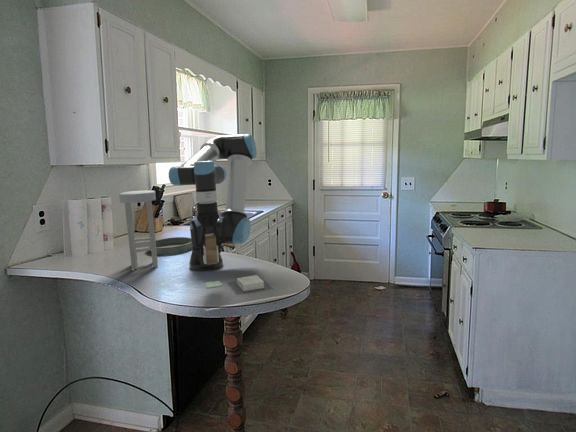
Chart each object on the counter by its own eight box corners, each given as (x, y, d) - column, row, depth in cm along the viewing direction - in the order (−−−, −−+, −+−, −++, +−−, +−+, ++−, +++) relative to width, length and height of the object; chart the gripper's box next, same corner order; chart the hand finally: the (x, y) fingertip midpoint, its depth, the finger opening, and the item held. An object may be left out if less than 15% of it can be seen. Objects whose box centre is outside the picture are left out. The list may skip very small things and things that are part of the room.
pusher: (205, 262, 161) (203, 234, 159) (215, 260, 163) (213, 233, 161) (207, 264, 157) (205, 236, 156) (217, 263, 159) (215, 235, 157)
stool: (128, 263, 201) (120, 191, 195) (161, 259, 205) (154, 189, 200) (126, 272, 186) (118, 195, 180) (162, 267, 191) (155, 192, 185)
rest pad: (204, 285, 163) (204, 282, 163) (219, 282, 166) (219, 280, 165) (207, 290, 158) (207, 287, 158) (222, 287, 160) (222, 284, 160)
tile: (236, 278, 160) (243, 284, 152) (256, 275, 163) (263, 281, 155) (237, 284, 161) (243, 291, 153) (256, 281, 164) (264, 288, 155)
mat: (227, 284, 164) (227, 282, 164) (260, 278, 169) (260, 277, 169) (236, 296, 150) (236, 294, 150) (273, 289, 155) (273, 288, 155)
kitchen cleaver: (244, 244, 228) (229, 247, 221) (244, 246, 228) (229, 249, 221) (220, 239, 246) (205, 241, 239) (220, 240, 246) (205, 243, 239)
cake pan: (157, 245, 239) (156, 237, 238) (199, 243, 238) (198, 236, 237) (140, 256, 214) (139, 248, 214) (187, 255, 213) (186, 246, 213)
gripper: (185, 205, 150) (190, 267, 153) (231, 201, 156) (235, 261, 160) (182, 203, 157) (187, 262, 160) (226, 199, 163) (230, 257, 167)
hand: (211, 262), depth 160 cm, fingers closed on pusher, 4 cm apart
